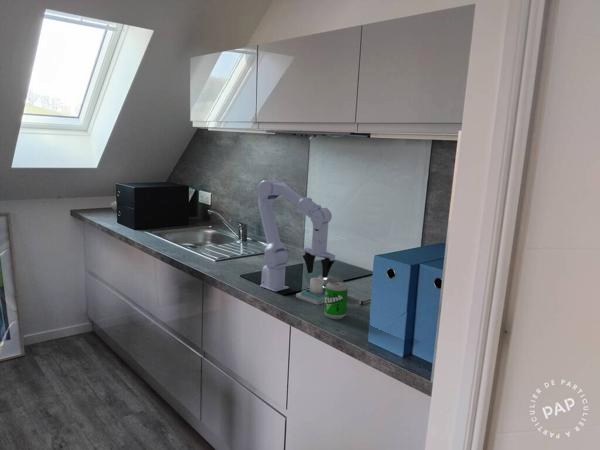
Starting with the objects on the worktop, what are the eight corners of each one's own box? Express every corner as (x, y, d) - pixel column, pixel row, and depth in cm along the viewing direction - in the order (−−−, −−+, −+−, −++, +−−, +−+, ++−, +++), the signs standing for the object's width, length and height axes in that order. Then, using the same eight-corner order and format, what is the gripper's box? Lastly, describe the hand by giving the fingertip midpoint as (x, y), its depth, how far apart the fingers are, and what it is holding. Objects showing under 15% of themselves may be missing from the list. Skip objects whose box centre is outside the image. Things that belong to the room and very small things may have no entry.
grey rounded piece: (306, 294, 176) (307, 279, 175) (318, 290, 181) (319, 276, 180) (316, 297, 173) (317, 282, 172) (327, 294, 178) (328, 279, 177)
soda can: (332, 310, 164) (334, 278, 162) (349, 316, 159) (352, 283, 157) (319, 315, 158) (321, 282, 156) (336, 321, 153) (339, 287, 151)
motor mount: (295, 297, 177) (296, 278, 175) (325, 288, 190) (327, 271, 188) (319, 305, 168) (320, 286, 167) (348, 296, 182) (350, 278, 180)
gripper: (298, 238, 175) (296, 272, 177) (327, 244, 165) (325, 281, 168) (310, 236, 180) (308, 269, 182) (339, 242, 171) (337, 278, 173)
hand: (317, 275), depth 175 cm, fingers open, 7 cm apart
